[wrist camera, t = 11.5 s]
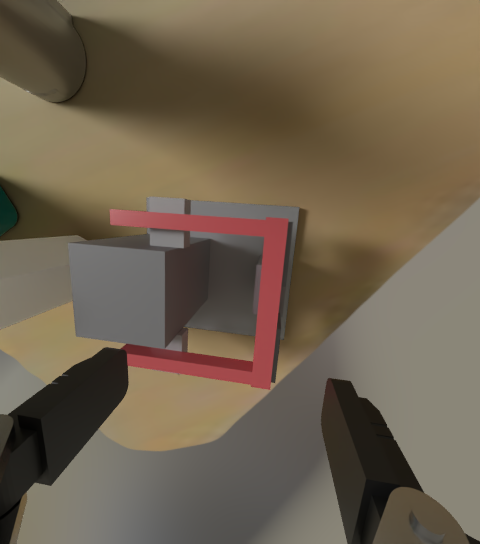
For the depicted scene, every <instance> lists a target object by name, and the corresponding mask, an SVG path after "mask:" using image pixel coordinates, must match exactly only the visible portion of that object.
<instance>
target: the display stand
mask: <svg viewBox="0 0 480 544" xmlns="http://www.w3.org/2000/svg"><path fill="white" fill-rule="evenodd" d="M147 212H158V213H173V214H187V215H202V216H216V217H231V218H245V219H260V220H266V217H272V218H286V219H289V220H288V221H289V222H293V229H292V238H291V247H290V256H289V264H288V273H287V282H286V287H281V293H280V303H279V312H278V313H280V317H281V335H280V339H281V340H284V333H285V325H286V316H287V308H288V299H289V291H290V283H291V274H292V266H293V257H294V249H295V240H296V232H297V224H298V215H299V207H289V206H273V205H257V204H241V203H225V202H209V201H193V200H187V199H179V198H163V197H149V198H147ZM263 246H264V237H261V236H248V235H236V234H223V233H210V232H197V231H184V230H171V229H159V228H147V234H144V235H134V236H125V237H116V238H107V239H98V240H88V241H79V242H70V243H68V251H69V262H70V274H71V285H72V296H73V308H74V319H75V331H76V336H77V337H84V338H91V339H98V340H105V341H112V342H119V343H126V344H133V345H140V346H147V347H153V348H160V349H167V350H174V351H181V352H187V346H188V328H183V327H189V328H197V329H204V330H212V331H220V332H227V333H235V334H243V335H250V336H256V325H257V314H258V302H259V291H260V280H261V269H262V257H263ZM152 370H153V369H152ZM157 371H160V370H157ZM164 372H166V371H164ZM170 373H173V372H170ZM176 374H179V373H176Z"/></svg>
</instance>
